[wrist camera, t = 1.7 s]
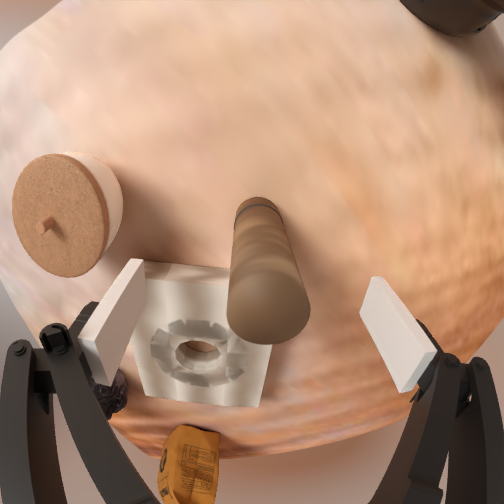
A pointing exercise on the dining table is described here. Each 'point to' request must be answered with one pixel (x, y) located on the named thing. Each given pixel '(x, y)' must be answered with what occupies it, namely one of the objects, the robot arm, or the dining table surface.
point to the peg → (264, 278)
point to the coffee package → (189, 467)
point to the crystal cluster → (111, 394)
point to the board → (194, 328)
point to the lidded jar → (67, 211)
